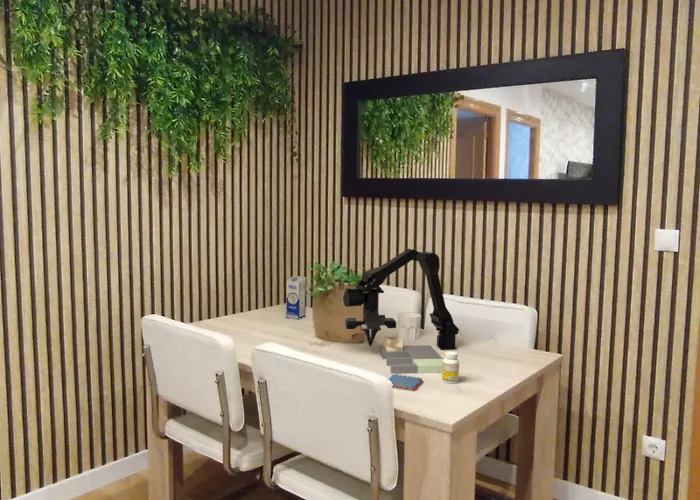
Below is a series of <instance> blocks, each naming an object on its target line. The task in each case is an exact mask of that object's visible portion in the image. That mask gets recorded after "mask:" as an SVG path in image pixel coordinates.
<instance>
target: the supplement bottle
mask: <svg viewBox="0 0 700 500" xmlns="http://www.w3.org/2000/svg"><path fill="white" fill-rule="evenodd" d="M458 355H459V354H458V352H457V351H450V350H448V351H445V353H444V358H443V373H442V375H441V377H442V381H443V383H445V384H450V385H453V384H457V383H459V380H460V379H459V378H460V360H459V358H458Z"/></svg>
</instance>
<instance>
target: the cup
mask: <svg viewBox="0 0 700 500" xmlns="http://www.w3.org/2000/svg"><path fill="white" fill-rule="evenodd" d="M396 315H397V330H398V337H400V338H401V339H402V340H403V341H404V340H406V341H415V340H418V339H420V330H421V322H422V321H421V320H422V315H421V314H420V313H418V312H406V311H405V312H399V313H397V314H396Z"/></svg>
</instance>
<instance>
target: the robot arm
mask: <svg viewBox="0 0 700 500" xmlns="http://www.w3.org/2000/svg"><path fill="white" fill-rule="evenodd" d="M412 261H415V262H418V264H419V266H420V269H421V270H422V272H423V273H424V275H425V276H426V280H427V285H428V290H429V294H430V298H431V302H432V303H431V304H432V307H433V310H432V313H429V316H430V319H431V321H430V323H431V324H432V325H433V326H434V327H435V330H436V331H437V332H438V333H437V334H438V335H436V347H438V349H440V350H457V347H456V335H459V333H460V328H458V326H457V325H456V324H455V323H454V319H453V316H452V314H451V313H450V311H449V310H448V308H447V307H446V302H445V298H444V297H445V296H444V294H443V288H442V284H441V280H440V275H439V271H440V266H441V265H440V264H441V263H440V256H439V255H438V254H436V253H434V252H430V251H419V250H415V249H412V248H406V249H404V251H402V252H400V253H399V254H397V255H395V256H394V257H393V258H392V259H391V258H390V260H388V261H387V262H385V263H384V264H382V265H380V266H377V267H374V268H371V269H369V270H365V271H364V272H363V273H362V275H361V279H360V281H359V282H358V283H357V285H356V286H355V287H353V288H352V287H347V288H345V291H344V293H343V296H342V302H343V305H344V307H345V308H349V307H361V306H362V309H363V310H362V320H357V317H356V318H347V319H346V320H345V326H346V328H347V329H355V328H357V327H359V328H360V329H361V331H363V332H364V334H365V337H366V339H367V340H366V341H367V343H368V346H369V347H371V346H373V343H374V340H375V337H376V335H377V334H378V332H379V331H381V330H382V328H381V326H385V327H386V328H387V329H396V328H397V321H396V320H395V318H393V317H386V315H385V314H379V313H380V312H379V308H380V307H379V297H380V296H379V294H384V293H385V290H383V289H382V288H381V285H382V284H383V283H384V282H385V281H386V279H387V278H388V277H390V275H392V274H393V273H394V272H396V271H397V270H399V269H401V268H402V267H404V266H405V265H407V264H409V263H410V262H412Z"/></svg>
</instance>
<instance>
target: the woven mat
mask: <svg viewBox="0 0 700 500" xmlns="http://www.w3.org/2000/svg"><path fill="white" fill-rule="evenodd" d="M388 379H389V380H390V381H391V382H392V384H393V388H392V389H396V390H397V389H398V390H403V391H404V390H405V391H408V392H411V391H412V392H415V391H416V390H417V389H418V388H419V387H420V386H421V385H422V384H423V382H424V380H423V378H422V377H418V376H417V377H415V376H410V375H403V374H392V375H391V376H390V377H389V378H388Z"/></svg>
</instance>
